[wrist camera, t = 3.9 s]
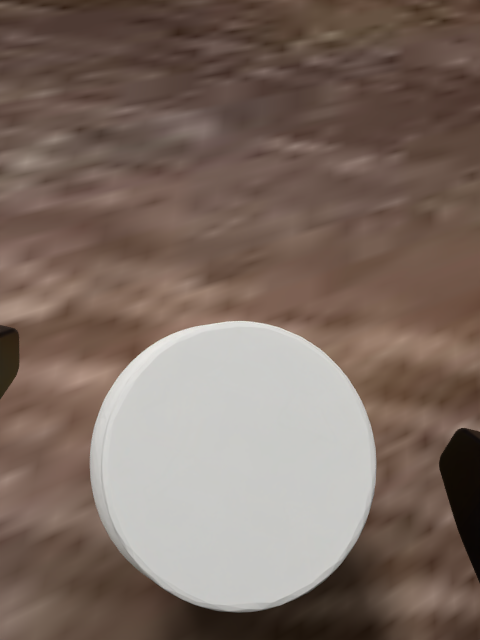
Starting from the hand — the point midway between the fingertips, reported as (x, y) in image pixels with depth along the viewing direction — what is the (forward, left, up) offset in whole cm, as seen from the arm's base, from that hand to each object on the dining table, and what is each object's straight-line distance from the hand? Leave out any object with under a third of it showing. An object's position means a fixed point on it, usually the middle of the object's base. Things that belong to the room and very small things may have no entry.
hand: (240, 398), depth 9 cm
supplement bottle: (-1, 0, -7) cm, 8 cm away
